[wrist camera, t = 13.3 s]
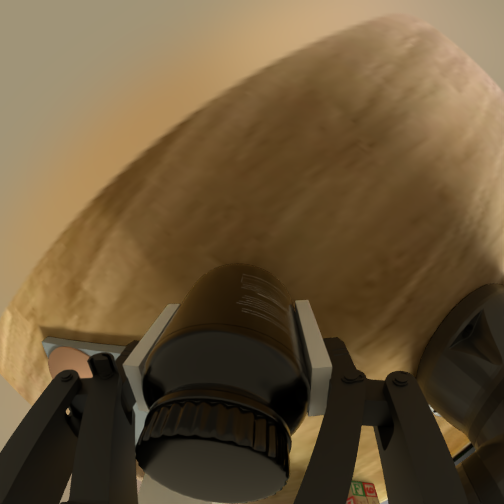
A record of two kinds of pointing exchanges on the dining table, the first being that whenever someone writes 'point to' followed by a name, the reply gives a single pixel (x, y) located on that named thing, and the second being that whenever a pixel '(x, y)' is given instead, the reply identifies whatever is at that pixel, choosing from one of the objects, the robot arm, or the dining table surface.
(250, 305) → the supplement bottle
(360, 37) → the dining table surface
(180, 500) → the plain off-white box
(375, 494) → the stack of blocks
